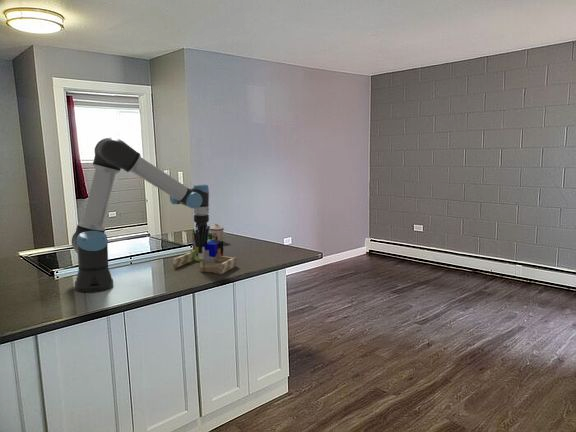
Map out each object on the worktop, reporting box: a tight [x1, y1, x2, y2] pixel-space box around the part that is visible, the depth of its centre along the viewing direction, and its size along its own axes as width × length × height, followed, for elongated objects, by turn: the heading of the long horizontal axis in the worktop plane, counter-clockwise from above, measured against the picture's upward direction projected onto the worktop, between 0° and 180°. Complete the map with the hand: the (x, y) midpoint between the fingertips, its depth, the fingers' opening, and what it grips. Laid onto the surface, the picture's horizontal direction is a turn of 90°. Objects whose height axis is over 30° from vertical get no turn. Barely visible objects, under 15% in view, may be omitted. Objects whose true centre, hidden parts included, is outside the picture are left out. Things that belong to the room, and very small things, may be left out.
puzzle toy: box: [197, 239, 224, 263], centre depth 232 cm, size 10×10×10 cm
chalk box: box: [191, 231, 212, 255], centre depth 247 cm, size 9×9×15 cm
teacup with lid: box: [209, 223, 227, 242], centre depth 274 cm, size 12×9×12 cm
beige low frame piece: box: [172, 249, 237, 275], centre depth 220 cm, size 18×27×5 cm
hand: (201, 258), depth 225 cm, fingers closed
